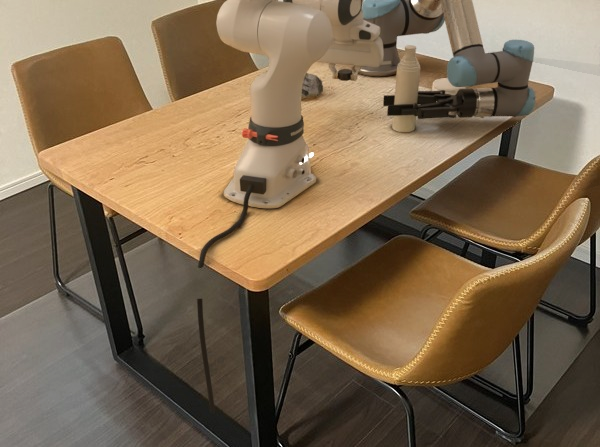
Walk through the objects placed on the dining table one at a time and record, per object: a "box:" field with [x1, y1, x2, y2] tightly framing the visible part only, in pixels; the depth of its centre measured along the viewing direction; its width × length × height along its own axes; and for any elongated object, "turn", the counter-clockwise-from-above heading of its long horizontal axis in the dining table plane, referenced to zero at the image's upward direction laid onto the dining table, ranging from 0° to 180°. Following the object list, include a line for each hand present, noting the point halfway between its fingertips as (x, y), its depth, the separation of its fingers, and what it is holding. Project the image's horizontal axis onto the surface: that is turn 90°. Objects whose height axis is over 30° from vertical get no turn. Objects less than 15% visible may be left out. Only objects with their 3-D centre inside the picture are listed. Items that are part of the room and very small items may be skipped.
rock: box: [301, 72, 324, 99], centre depth 187 cm, size 15×10×7 cm
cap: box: [337, 68, 353, 82], centre depth 169 cm, size 4×4×2 cm
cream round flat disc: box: [431, 77, 467, 95], centre depth 185 cm, size 10×10×4 cm
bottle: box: [391, 44, 422, 133], centre depth 160 cm, size 6×6×22 cm
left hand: (345, 79), depth 170 cm, fingers closed on cap, 4 cm apart
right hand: (385, 105), depth 162 cm, fingers closed on bottle, 6 cm apart
